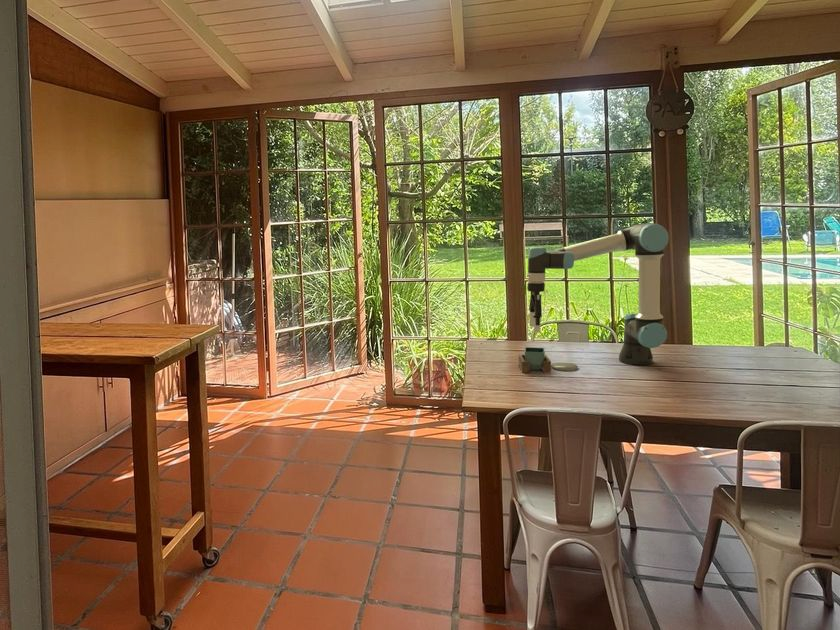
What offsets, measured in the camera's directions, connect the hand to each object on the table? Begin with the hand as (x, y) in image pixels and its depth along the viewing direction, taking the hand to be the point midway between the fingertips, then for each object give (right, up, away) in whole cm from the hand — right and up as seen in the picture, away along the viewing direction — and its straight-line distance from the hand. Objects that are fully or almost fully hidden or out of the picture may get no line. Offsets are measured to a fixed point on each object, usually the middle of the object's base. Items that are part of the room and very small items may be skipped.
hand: (534, 329), depth 239 cm
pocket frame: (0, -18, +3) cm, 18 cm away
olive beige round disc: (+15, -18, +4) cm, 23 cm away
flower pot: (0, -18, +3) cm, 19 cm away
